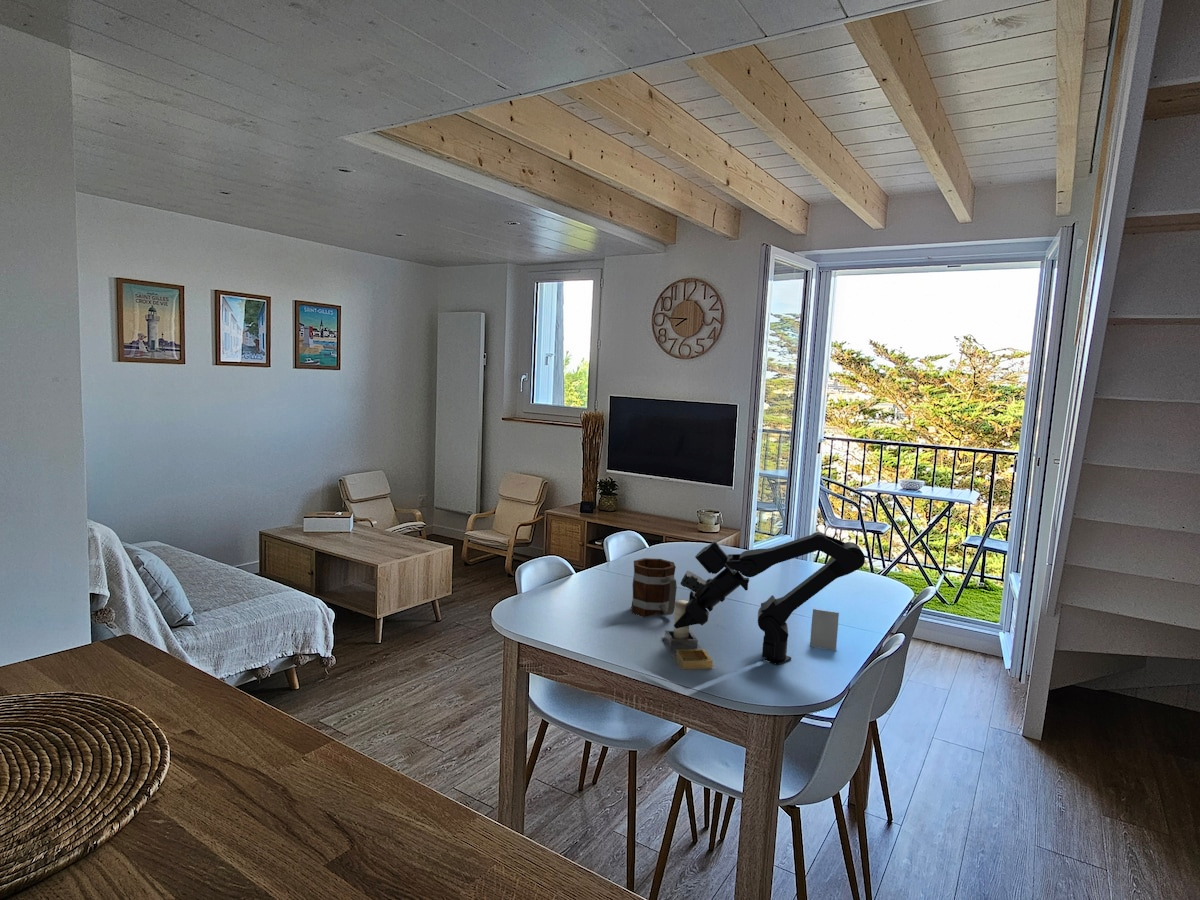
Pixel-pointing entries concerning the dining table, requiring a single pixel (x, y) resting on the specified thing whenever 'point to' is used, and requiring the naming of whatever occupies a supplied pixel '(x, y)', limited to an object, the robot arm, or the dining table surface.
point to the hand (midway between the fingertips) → (676, 622)
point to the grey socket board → (687, 652)
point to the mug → (653, 587)
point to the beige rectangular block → (824, 629)
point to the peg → (679, 611)
